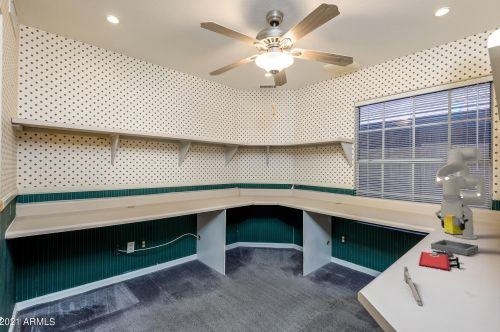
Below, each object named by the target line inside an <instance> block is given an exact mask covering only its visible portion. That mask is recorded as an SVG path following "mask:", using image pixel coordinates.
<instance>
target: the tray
mask: <svg viewBox="0 0 500 332" xmlns="http://www.w3.org/2000/svg"><path fill="white" fill-rule="evenodd" d="M430 245H431V246H430V249H432V250H434V251H440V250H441V252H444V251H445V252H449V253H452V254H454V255H458V256H463V257H468V256H470V255H473V254H475V253H478V252H479V246H478V244H477V245H476V244H471V243H464V242H458V241H454V240H449V239H441V240H438V241H435V242H431V243H430Z"/></svg>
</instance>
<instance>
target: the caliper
mask: <svg viewBox="0 0 500 332" xmlns="http://www.w3.org/2000/svg"><path fill="white" fill-rule="evenodd" d="M403 279H404V282H406V284H408V285H409V286H408V287H409V288H410V290H411V292H412V295H413V297H414V300H415V302H416V304H417V306H420V305H422V302H421V298H420V297H419V295H418V292H417V289H416V287H415V285H414V282H413V280H412V278H411V274H410V272H409V268H408V266H404V268H403Z"/></svg>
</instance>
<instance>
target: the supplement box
mask: <svg viewBox="0 0 500 332" xmlns="http://www.w3.org/2000/svg"><path fill="white" fill-rule="evenodd" d="M460 223H461V221H460V220H459V219H457V218H456V217H455V216H453V215H446V217H444V228H443V230H444V234H447V235H450V236H453V235H463V231H461V228H460Z"/></svg>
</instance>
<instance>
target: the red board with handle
mask: <svg viewBox="0 0 500 332" xmlns="http://www.w3.org/2000/svg"><path fill="white" fill-rule="evenodd" d="M453 254H454V253H449V252H444V251H440V250H432V251H431V252H427V251H421V253H420V256H419V261H418V267H422V268H423V267H425V268H430V269H435V270H439V269H440V271H446V272H451V271H450V269H451V268H453V267H455V268H458V270H461V264H460V262H459V261H460V260H459V256H455V258H449V257H454V255H453ZM450 262H455V263H450Z"/></svg>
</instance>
